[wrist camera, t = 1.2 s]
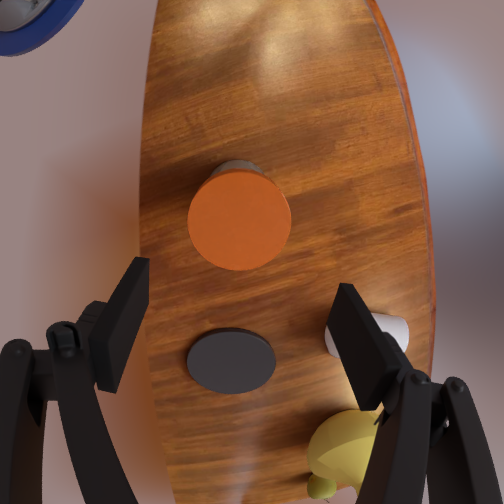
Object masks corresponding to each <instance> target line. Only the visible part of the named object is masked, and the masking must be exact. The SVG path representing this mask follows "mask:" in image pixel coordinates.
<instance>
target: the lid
mask: <svg viewBox="0 0 504 504" xmlns="http://www.w3.org/2000/svg"><path fill="white" fill-rule="evenodd" d="M187 225H188V232H189V236H190V238H191V241H192V243H193V245H194V246H195V248H196V249H197V251H198V252H199V253H200V254H201V255H202V256H203V257H204V258H205V259H206V260H208V261H209V262H211V263H212V264H214V265H216V266H219V267H221V268H224V269H229V270H249V269H253V268H257V267H259V266H262V265H264V264H265V263H267V262H269V261H270V260H272V259H273V258H274V257H275V256H276V255H277V254H278V253H279V252H280V251H281V250H282V248H283V247H284V245H285V243H286V241H287V239H288V237H289V233H290V229H291V213H290V209H289V205H288V203H287V200H286V199H285V197H284V195H283V194H282V192H281V190H280V189H279V187H278V186H277V185H276V184H275V183H274V182H273V181H272V180H271V179H270V178H268V177H267V176H266V175H264V174H262V173H260V172H257V171H255V170H251V169H246V168H233V169H227V170H224V171H221V172H219V173H217V174H215V175H213V176H211V177H210V178H209V179H207V180H206V181H205V182H204V183H203V184H202V185H201V186H200V188H199V189H198V191H197V192H196V194H195V196H194V198H193V200H192V202H191V205H190V208H189V212H188V219H187Z"/></svg>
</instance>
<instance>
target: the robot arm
mask: <svg viewBox="0 0 504 504" xmlns="http://www.w3.org/2000/svg"><path fill="white" fill-rule="evenodd" d="M55 1H56V0H0V31H3V32H16V31H19V30H21V29H24V28H26V27H27V26H29V25H31V24H32V23H34V22H35V21H36V20H38V19H39V18H40V17H41V16H42V15H43V14H44V13H45V12H46V11H47V10H48V9H49V8H50V7H51V6H52V4H53V3H54V2H55ZM149 260H150V259H149V258H142V257H135V258H134V259H133V261H132V263H131V264H130V266H129V267H128V269H127V271H126V272H125V274H124V276H123V277H122V279H121V280H120V282H119V284H118V285H117V287H116V289H115V290H114V292H113V294H112V295H111V297H110V299H109V301H108V303H106V302H100V301H93V302H92V303H90V304H89V305H88V306H86V308H85V310H84V311H83V312H82V315H81V316H80V317H79V320H78V321H77V322H76V323H72V322H69V321H61V322H57V323H54V324H53V325H51V326H50V327H49V328H48V329H47V332H46V337H47V341H48V345H49V349H48V350H33V349H32V346H31V345H30V343H29V342H28V341H26V340H23V339H14V340H11V341H9V342H8V343H6V344H5V345H4V347H3V349H2V351H1V354H0V504H42V459H43V442H44V430H45V420H46V410H47V402H48V401H49V400H50V401H53V400H54V401H58V406H59V411H60V416H61V421H62V425H63V430H64V434H65V438H66V442H67V446H68V450H69V453H70V457H71V461H72V464H73V467H74V471H75V473H76V477H77V480H78V483H79V486H80V489H81V492H82V495H83V498H84V501H85V503H86V504H138V502H137V500H136V498H135V496H134V494H133V491H132V489H131V487H130V485H129V482H128V480H127V478H126V476H125V473H124V471H123V469H122V466H121V464H120V461H119V459H118V457H117V454H116V451H115V449H114V446H113V444H112V441H111V438H110V436H109V433H108V430H107V427H106V424H105V421H104V418H103V415H102V412H101V410H100V406H99V403H98V400H97V396H96V393H95V390H94V385H95V382H96V383H97V387H98V390H102V391H106V392H110V393H116V392H117V389H118V386H119V383H120V380H121V377H122V374H123V371H124V368H125V366H126V363H127V360H128V357H129V354H130V352H131V349H132V346H133V343H134V341H135V338H136V335H137V333H138V330H139V327H140V325H141V322H142V320H143V317H144V314H145V312H146V309H147V307H148V304H149ZM326 325H327V327H328V329H329V332H330V334H331V337H332V339H333V342H334V344H335V347H336V349H337V352H338V354H339V357H340V359H341V362H342V364H343V367H344V369H345V372H346V374H347V377H348V379H349V382H350V385H351V387H352V390H353V392H354V395H355V398H356V400H357V403H358V405H359V408H360V411H374V410H376V409H377V408H378V406H379V404H380V403H381V401H382V403H383V406H384V409H383V411H382V412H381V414H380V415H379V417H378V418H377V420H376V421H375V423H374V424H373V425H376V424H377V423H378V422H379V423H378V427H377V432H376V436H375V440H374V444H373V447H372V451H371V455H370V459H369V462H368V466H367V469H366V472H365V476H364V479H363V482H362V485H361V488H360V491H359V495H358V498H357V501H356V503H355V504H422V498H423V492H424V485H425V478H426V475H427V484H428V493H429V504H503V502H502V497H501V492H500V489H499V484H498V480H497V476H496V472H495V468H494V464H493V460H492V457H491V454H490V450H489V447H488V443H487V440H486V437H485V434H484V431H483V428H482V424H481V421H480V419H479V416H478V413H477V410H476V407H475V404H474V402H473V399H472V397H471V394H470V391H469V388H468V387H467V385H466V383H465V382H464V381H463V380H461V379H460V378H457V377H449V378H447V379H446V381H445V382H444V384H439V383H433V382H431V379H430V378H429V376H428V375H427V374H425V373H424V372H422V371H420V370H416V369H414V368H413V367H412V365H411V363H410V362H409V360H408V359H407V357H406V355H405V354H404V352H402V351H403V350H402V349H401V347H400V346H399V344H398V342H397V341H396V339H395V338H394V337H393V336H392V335H391V334H389V333H388V332H382V330H381V329H380V327H379V325H378V324H377V322H376V320H375V319H374V317H373V316H372V314H371V312H370V311H369V309H368V308H367V306H366V304H365V303H364V301H363V300H362V298H361V297H360V295H359V293H358V292H357V290H356V289H355V287H354V286H353V284H347V283H340V284H339V287H338V291H337V294H336V297H335V300H334V303H333V306H332V308H331V311H330V314H329V317H328V320H327V323H326ZM447 420H449V426H448V427H447V424H446V422H447Z"/></svg>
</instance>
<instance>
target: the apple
mask: <svg viewBox="0 0 504 504" xmlns="http://www.w3.org/2000/svg"><path fill="white" fill-rule="evenodd" d="M307 491H308V495H309V496H310V497H311V498H313V499H324V500H325V499H328V498H330V497H332V496H333V495H334V494H335V491H336V481H334V480H330V479H326V478H322V477H318V476H317V475H315V474H312V475H311V476H310V478H309V480H308V484H307Z"/></svg>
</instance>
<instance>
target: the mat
mask: <svg viewBox="0 0 504 504" xmlns="http://www.w3.org/2000/svg"><path fill="white" fill-rule="evenodd" d="M275 365H276V360H275V354H274V351H273V349H272V347H271V345H270V344H269V343H268V342H267V341H266V340H265V339H264V338H263V337H261V336H260V335H258V334H256V333H254V332H251V331H249V330H245V329H239V328H222V329H217V330H213V331H210V332H208V333H206V334H204V335H202V336H201V337H199V338H198V339H197V340H196V341H195V342H194V343H193V344H192V346H191V347H190V349H189V352H188V357H187V366H188V370H189V372H190V374H191V376H192V377H193V378H194V380H195V381H196V382H198V383H199V384H200V385H201V386H203V387H205V388H207V389H209V390H211V391H215V392H218V393H224V394H239V393H245V392H249V391H252V390H254V389H257V388H258V387H260V386H262V385H263V384H265V383H266V382H267V381H268V380H269V379H270V377H271V376H272V374H273V372H274V370H275Z"/></svg>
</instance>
